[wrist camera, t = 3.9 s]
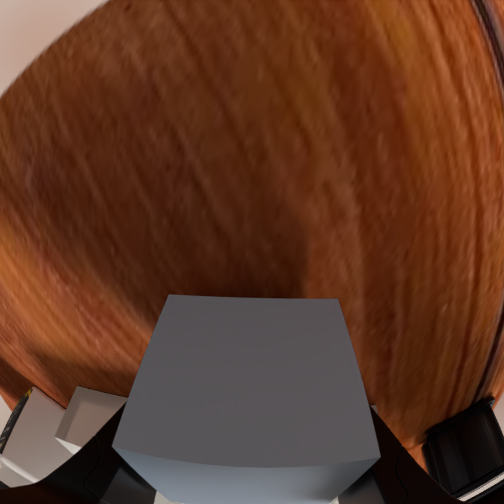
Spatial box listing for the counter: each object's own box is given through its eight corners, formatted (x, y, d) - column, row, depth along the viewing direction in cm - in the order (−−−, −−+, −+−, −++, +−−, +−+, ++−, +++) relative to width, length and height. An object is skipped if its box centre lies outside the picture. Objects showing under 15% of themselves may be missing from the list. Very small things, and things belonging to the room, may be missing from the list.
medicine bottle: (33, 383, 15) (-21, 508, 5) (108, 435, 18) (74, 557, 7) (18, 399, 17) (-24, 495, 7) (78, 441, 20) (48, 536, 9)
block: (337, 298, 8) (380, 456, 4) (313, 394, 11) (324, 506, 6) (169, 294, 8) (112, 446, 4) (190, 390, 11) (169, 500, 6)
